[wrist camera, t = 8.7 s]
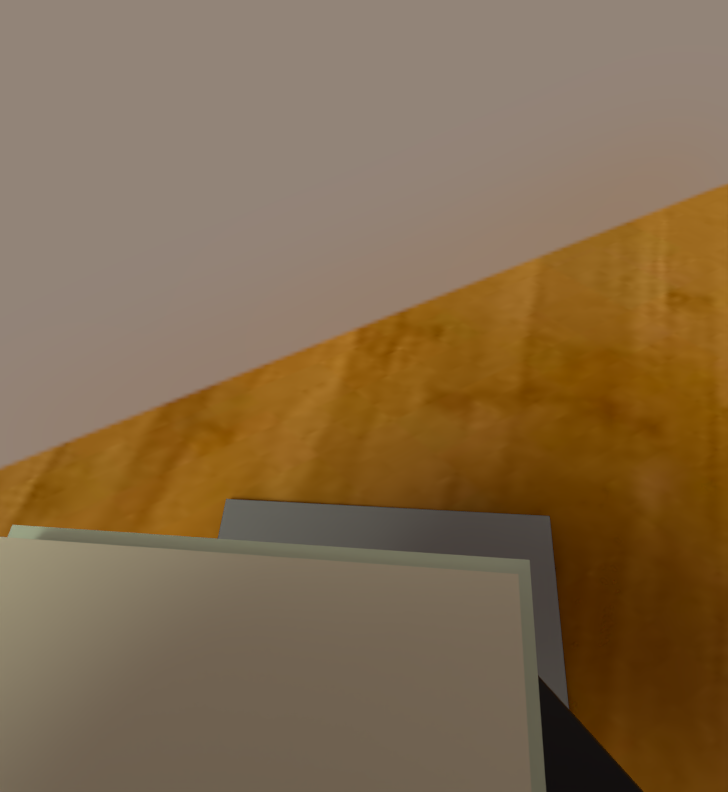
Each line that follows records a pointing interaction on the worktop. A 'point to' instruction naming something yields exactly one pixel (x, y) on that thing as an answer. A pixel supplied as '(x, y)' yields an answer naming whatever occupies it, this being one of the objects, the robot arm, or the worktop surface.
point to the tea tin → (262, 667)
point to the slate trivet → (421, 548)
